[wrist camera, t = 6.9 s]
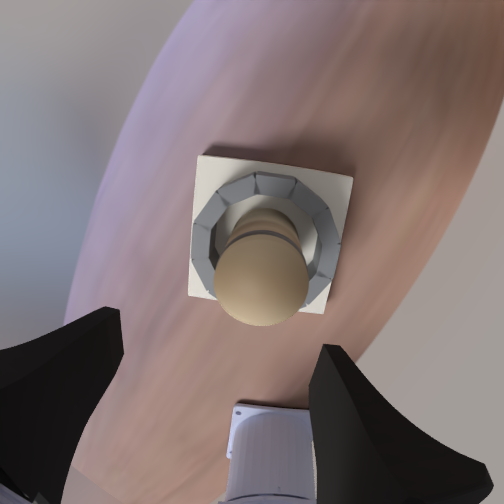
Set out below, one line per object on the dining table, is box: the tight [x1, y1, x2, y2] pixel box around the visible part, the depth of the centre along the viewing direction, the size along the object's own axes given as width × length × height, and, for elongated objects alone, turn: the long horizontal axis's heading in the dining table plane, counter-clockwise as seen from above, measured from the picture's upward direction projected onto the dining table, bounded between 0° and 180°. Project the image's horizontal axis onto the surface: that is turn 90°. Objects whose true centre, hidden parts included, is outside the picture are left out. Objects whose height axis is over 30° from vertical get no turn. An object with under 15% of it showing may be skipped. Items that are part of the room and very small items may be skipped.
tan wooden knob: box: [213, 208, 309, 326], centre depth 16 cm, size 4×4×6 cm
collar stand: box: [188, 155, 353, 314], centre depth 18 cm, size 9×9×3 cm
